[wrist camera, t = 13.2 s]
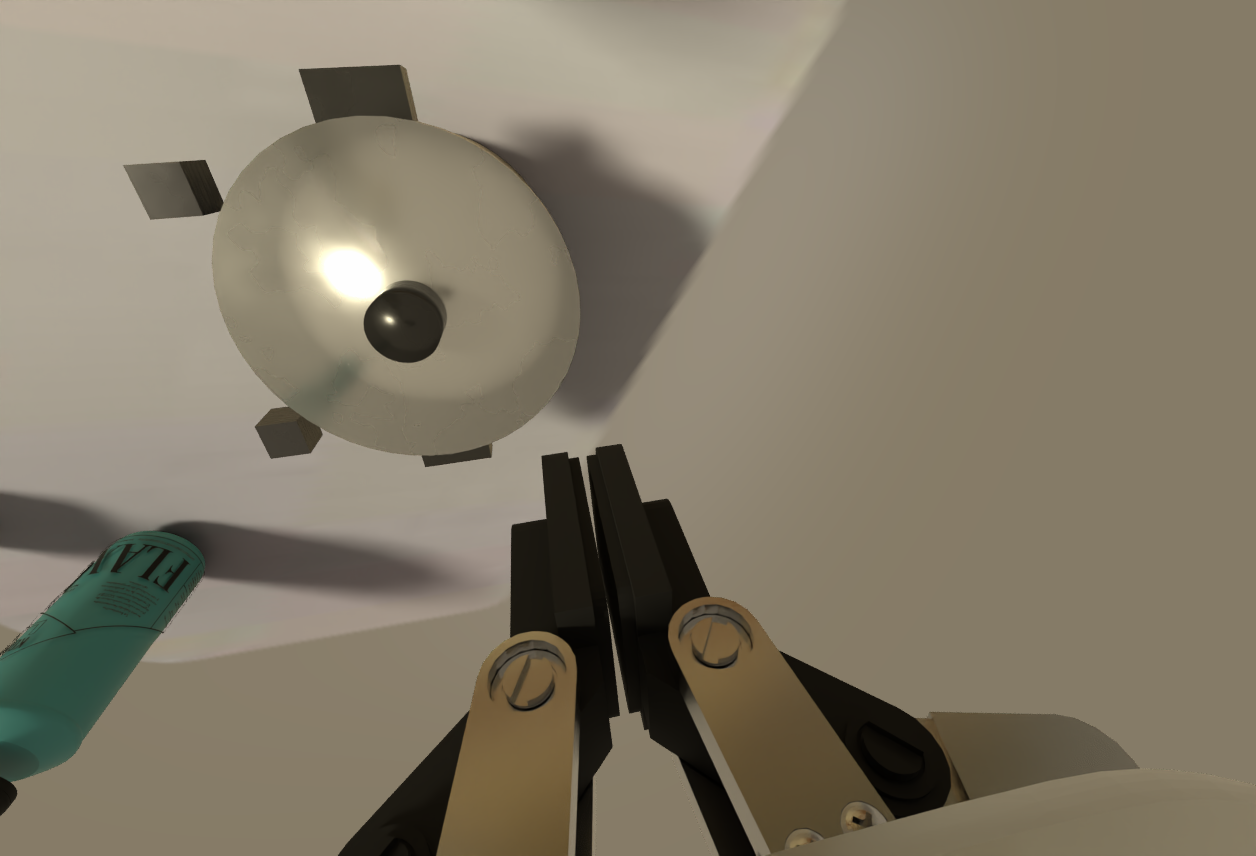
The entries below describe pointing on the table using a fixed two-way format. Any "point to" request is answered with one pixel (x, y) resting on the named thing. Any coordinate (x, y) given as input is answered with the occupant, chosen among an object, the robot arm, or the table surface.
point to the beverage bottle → (87, 650)
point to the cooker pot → (197, 194)
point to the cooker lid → (396, 285)
